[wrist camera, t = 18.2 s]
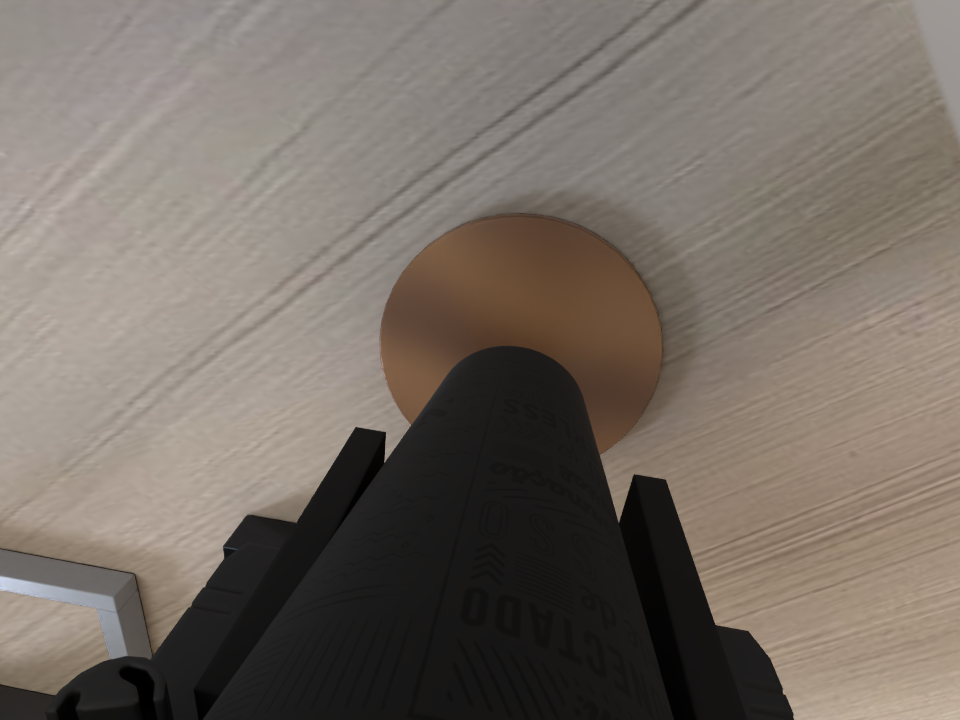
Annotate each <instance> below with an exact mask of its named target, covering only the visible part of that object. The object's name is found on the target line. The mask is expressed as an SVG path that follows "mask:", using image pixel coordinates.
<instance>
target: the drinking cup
mask: <svg viewBox="0 0 960 720" xmlns="http://www.w3.org/2000/svg"><path fill="white" fill-rule="evenodd" d="M203 720H674V719H673V715H672V711H671V708H670V704H669V701H668V697H667V694H666V690H665V686H664V683H663V679H662V676H661V672H660V669H659V665H658V662H657V658H656V654H655V651H654V647H653V644H652V640H651V637H650V633H649V629H648V626H647V622H646V619H645V615H644V612H643V608H642V604H641V601H640V597H639V594H638V590H637V587H636V583H635V579H634V576H633V572H632V569H631V565H630V562H629V558H628V555H627V551H626V547H625V544H624V540H623V537H622V533H621V530H620V526H619V522H618V519H617V515H616V512H615V508H614V505H613V501H612V497H611V494H610V490H609V487H608V483H607V480H606V476H605V473H604V469H603V465H602V462H601V458H600V455H599V451H598V448H597V444H596V440H595V437H594V433H593V430H592V426H591V423H590V419H589V415H588V412H587V408H586V405H585V401H584V398H583V395H582V392H581V390H580V388H579V386H578V384H577V382H576V381H575V379H574V378H573V377H572V375H571V374H570V373H569V372H568V371H567V370H566V369H565V368H564V367H563V366H562V365H561V364H559V363H558V362H557V361H555V360H554V359H552V358H551V357H549V356H547V355H545V354H543V353H541V352H538V351H535V350H532V349H529V348H525V347H518V346H496V347H490V348H486V349H483V350H480V351H477V352H475V353H473V354H471V355H469V356H467V357H465V358H464V359H462V360H461V361H460V362H459V363H457V364H456V365H455V366H454V367H453V368H452V369H451V371H450V372H449V373H448V374H447V376H446V377H445V379H444V380H443V381H442V383H441V384H440V386H439V387H438V388H437V390H436V391H435V393H434V394H433V396H432V397H431V398H430V400H429V401H428V403H427V404H426V405H425V407H424V408H423V410H422V411H421V412H420V414H419V415H418V417H417V418H416V419H415V421H414V422H413V424H412V425H411V427H410V428H409V429H408V431H407V432H406V434H405V435H404V436H403V438H402V439H401V441H400V442H399V443H398V445H397V446H396V448H395V449H394V451H393V452H392V453H391V455H390V456H389V458H388V459H387V460H386V462H385V463H384V465H383V466H382V467H381V469H380V470H379V472H378V473H377V475H376V476H375V477H374V479H373V480H372V482H371V483H370V484H369V486H368V487H367V489H366V490H365V491H364V493H363V494H362V496H361V497H360V499H359V500H358V501H357V503H356V504H355V506H354V507H353V508H352V510H351V511H350V513H349V514H348V515H347V517H346V518H345V520H344V521H343V522H342V524H341V525H340V527H339V528H338V530H337V531H336V532H335V534H334V535H333V537H332V538H331V540H330V541H329V542H328V544H327V545H326V547H325V548H324V549H323V551H322V552H321V554H320V555H319V557H318V558H317V559H316V561H315V562H314V564H313V565H312V566H311V568H310V569H309V571H308V572H307V573H306V575H305V576H304V578H303V579H302V580H301V582H300V583H299V585H298V586H297V587H296V589H295V590H294V592H293V593H292V594H291V596H290V597H289V599H288V600H287V602H286V603H285V604H284V606H283V607H282V609H281V610H280V611H279V613H278V614H277V616H276V617H275V618H274V620H273V621H272V623H271V624H270V625H269V627H268V628H267V630H266V631H265V633H264V634H263V635H262V637H261V638H260V640H259V641H258V642H257V644H256V645H255V647H254V648H253V649H252V651H251V652H250V654H249V655H248V657H247V658H246V659H245V661H244V662H243V664H242V665H241V666H240V668H239V669H238V671H237V672H236V673H235V675H234V676H233V678H232V679H231V681H230V682H229V683H228V685H227V686H226V688H225V689H224V690H223V692H222V693H221V695H220V696H219V697H218V699H217V700H216V702H215V703H214V705H213V706H212V707H211V709H210V710H209V712H208V713H207V714H206V716H205V717H204V719H203Z"/></svg>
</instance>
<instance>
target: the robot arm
mask: <svg viewBox="0 0 960 720" xmlns="http://www.w3.org/2000/svg"><path fill="white" fill-rule="evenodd" d="M385 440H386V432H381V431H376V430H370V429H364V428H358V427H355V429H354V431H353V432H352V434H351V436H350V437H349V439H348V440H347V442H346V444H345V445H344V447H343V449H342V450H341V452H340V453H339V455H338V457H337V458H336V460H335V461H334V463H333V465H332V466H331V468H330V470H329V471H328V473H327V474H326V476H325V478H324V479H323V481H322V482H321V484H320V486H319V487H318V489H317V491H316V492H315V494H314V495H313V497H312V499H311V500H310V502H309V503H308V505H307V507H306V508H305V510H304V512H303V513H302V515H301V516H300V518H299V520H298V521H297V523H296V524H295V526H294V528H293V529H292V531H291V533H290V534H289V536H288V537H287V539H286V541H285V542H284V544H283V545H282V547H281V548H280V547H275V546H269V545H264V544H258V543H253V542H247V543H246V544H244V545H243V546H242V547H240V548H239V549H238V550H236V551H235V552H233V553H232V554H231V555H229V556H228V557H227V558H225V559H224V560H223V561H222V563H221V564H220V565H219V567H218V568H217V569H216V571H215V572H214V573H213V575H212V576H211V578H210V579H209V580H208V582H207V584H206V587H205V588H204V587H203V588H202V590H201V591H200V593H199V594H198V595H197V597H196V598H195V599H194V601H193V602H192V606H191V607H189V608H188V609H187V610H186V612H185V613H184V614H183V616H182V617H181V618H180V620H179V621H178V623H177V624H176V625H175V627H174V628H173V629H172V631H171V632H170V633H169V635H168V636H167V638H166V639H165V640H164V642H163V643H162V644H161V646H160V647H159V648H158V650H157V651H156V653H155V654H154V655H153V657H152V658H151V659H150V660H149V659H147V658H146V657H134V656H124V657H120V658H115V659H111V660H107V661H103V662H101V663H99V664H98V665H96V666H94V667H92V668H90V669H88V670H86V671H84V672H82V673H80V674H79V675H78V676H77V677H75V678H74V679H73V680H72V681H71V682H69V683H68V684H67V685H66V686H65V687H63V688H62V689H61V690H60V691H59V692H58V694H57V695H56V696H55V698H54V699H53V700H52V702H51V703H50V705H49V706H48V707H47V709H46V710H45V711H44V712H45V714H46V717H47V720H203V719H204V717H205V716H206V714H207V713H208V712H209V710H210V709H211V707H212V706H213V705H214V703H215V702H216V700H217V699H218V697H219V696H220V695H221V693H222V692H223V690H224V689H225V688H226V686H227V685H228V683H229V682H230V681H231V679H232V678H233V676H234V675H235V673H236V672H237V671H238V669H239V668H240V666H241V665H242V664H243V662H244V661H245V659H246V658H247V657H248V655H249V654H250V652H251V651H252V649H253V648H254V647H255V645H256V644H257V642H258V641H259V640H260V638H261V637H262V635H263V634H264V633H265V631H266V630H267V628H268V627H269V625H270V624H271V623H272V621H273V620H274V618H275V617H276V616H277V614H278V613H279V611H280V610H281V609H282V607H283V606H284V604H285V603H286V602H287V600H288V599H289V597H290V596H291V594H292V593H293V592H294V590H295V589H296V587H297V586H298V585H299V583H300V582H301V580H302V579H303V578H304V576H305V575H306V573H307V572H308V571H309V569H310V568H311V566H312V565H313V564H314V562H315V561H316V559H317V558H318V557H319V555H320V554H321V552H322V551H323V549H324V548H325V547H326V545H327V544H328V542H329V541H330V540H331V538H332V537H333V535H334V534H335V532H336V531H337V530H338V528H339V527H340V525H341V524H342V522H343V521H344V520H345V518H346V517H347V515H348V514H349V513H350V511H351V510H352V508H353V507H354V506H355V504H356V503H357V501H358V500H359V499H360V497H361V496H362V494H363V493H364V491H365V490H366V489H367V487H368V486H369V484H370V483H371V482H372V480H373V479H374V477H375V476H376V475H377V473H378V472H379V470H380V469H381V467H382V466H383V465H384V458H385ZM619 526H620V530H621V533H622V537H623V540H624V544H625V547H626V551H627V555H628V558H629V562H630V565H631V569H632V572H633V576H634V579H635V583H636V587H637V590H638V594H639V597H640V601H641V604H642V608H643V612H644V615H645V619H646V622H647V626H648V629H649V633H650V637H651V640H652V644H653V647H654V651H655V654H656V658H657V662H658V665H659V669H660V672H661V676H662V679H663V683H664V686H665V690H666V694H667V697H668V701H669V704H670V708H671V711H672V715H673V719H674V720H794V718H793V715H794V714H793V712H792V709H791V707H790V705H789V702H788V700H787V697H786V695H783V688H782V686H781V683H780V681H779V678H778V676H777V674H776V671H775V669H774V667H773V664H772V662H771V659H770V658H769V657H768V655H767V654H766V653H765V652H764V650H763V649H762V648H761V647H760V645H759V644H758V643H757V642H756V640H755V639H754V638H753V636H752V635H751V634H750V633H749V631H745V630H739V629H734V628H728V627H723V626H717V625H715V623H714V620H713V617H712V614H711V611H710V608H709V605H708V602H707V599H706V596H705V593H704V590H703V588H702V585H701V582H700V579H699V576H698V573H697V570H696V567H695V564H694V561H693V558H692V555H691V552H690V549H689V546H688V543H687V541H686V538H685V535H684V532H683V529H682V526H681V523H680V520H679V517H678V514H677V511H676V508H675V505H674V502H673V499H672V496H671V494H670V491H669V488H668V485H667V482H666V480H665V479H659V478H653V477H647V476H641V475H635V474H634V476H633V479H632V482H631V485H630V489H629V492H628V495H627V498H626V502H625V505H624V508H623V512H622V515H621V518H620V521H619Z"/></svg>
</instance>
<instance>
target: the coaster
mask: <svg viewBox="0 0 960 720" xmlns="http://www.w3.org/2000/svg"><path fill="white" fill-rule="evenodd" d="M496 346H518V347H525V348H529V349H532V350H535V351H538V352H541V353H543V354H545V355H547V356H549V357H551V358H552V359H554V360H555V361H557V362H558V363H559V364H561V365H562V366H563V367H564V368H565V369H566V370H567V371H568V372H569V373H570V374H571V375H572V377H573V378H574V379H575V381H576V382H577V384H578V386H579V388H580V390H581V392H582V395H583V398H584V401H585V405H586V408H587V412H588V415H589V419H590V423H591V426H592V430H593V433H594V437H595V440H596V444H597V448H598V451H599V454H601V453H603V452H604V451H606V450H608V449H609V448H610V447H612V446H613V445H614V444H615V443H617V442H618V441H619V440H620V439H622V438H623V437H624V436H625V434H626V433H627V432H628V431H629V430H630V429H631V428H632V427H633V426H634V425H635V423H636V422H637V421H638V419H639V418H640V417H641V415H642V414H643V413H644V411H645V409H646V407H647V405H648V404H649V402H650V400H651V398H652V396H653V393H654V391H655V388H656V385H657V383H658V379H659V374H660V370H661V366H662V353H663V342H662V329H661V325H660V320H659V316H658V312H657V309H656V307H655V304H654V302H653V299H652V296H651V294H650V292H649V291H648V289H647V287H646V285H645V284H644V282H643V280H642V278H641V277H640V275H639V274H638V273H637V271H636V270H635V269H634V268H633V266H632V265H631V264H630V262H629V261H628V260H627V259H626V258H625V257H624V256H623V255H622V254H621V253H620V252H619V251H618V250H617V249H616V248H614V247H613V246H612V245H611V244H609V243H608V242H606V241H605V240H604V239H602V238H601V237H599V236H598V235H596V234H594V233H592V232H590V231H589V230H587V229H585V228H583V227H581V226H579V225H576V224H573V223H570V222H568V221H565V220H562V219H558V218H553V217H549V216H544V215H536V214H523V213H518V214H501V215H495V216H490V217H485V218H480V219H477V220H474V221H472V222H469V223H466V224H463V225H461V226H459V227H457V228H455V229H453V230H451V231H449V232H447V233H445V234H443V235H442V236H440V237H439V238H437V239H436V240H435V241H433V242H432V243H430V244H429V245H428V246H427V247H426V248H425V249H424V250H422V251H421V252H420V253H419V254H418V255H417V256H416V257H415V258H414V259H413V260H412V262H411V263H410V264H409V265H408V266H407V268H406V269H405V270H404V271H403V272H402V274H401V276H400V277H399V279H398V280H397V282H396V284H395V285H394V287H393V289H392V291H391V294H390V296H389V298H388V301H387V303H386V306H385V310H384V314H383V317H382V322H381V330H380V357H381V363H382V369H383V373H384V376H385V379H386V383H387V386H388V388H389V390H390V392H391V395H392V397H393V399H394V401H395V403H396V404H397V406H398V408H399V409H400V411H401V413H402V414H403V415H404V417H405V418H406V419H407V420H408V422H409V423H410V424H411V425H412V424H413V422H414V421H415V419H416V418H417V417H418V415H419V414H420V412H421V411H422V410H423V408H424V407H425V405H426V404H427V403H428V401H429V400H430V398H431V397H432V396H433V394H434V393H435V391H436V390H437V388H438V387H439V386H440V384H441V383H442V381H443V380H444V379H445V377H446V376H447V374H448V373H449V372H450V371H451V369H452V368H453V367H454V366H455V365H456V364H457V363H459V362H460V361H461V360H462V359H464V358H465V357H467V356H469V355H471V354H473V353H475V352H477V351H480V350H483V349H486V348H490V347H496Z"/></svg>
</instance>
